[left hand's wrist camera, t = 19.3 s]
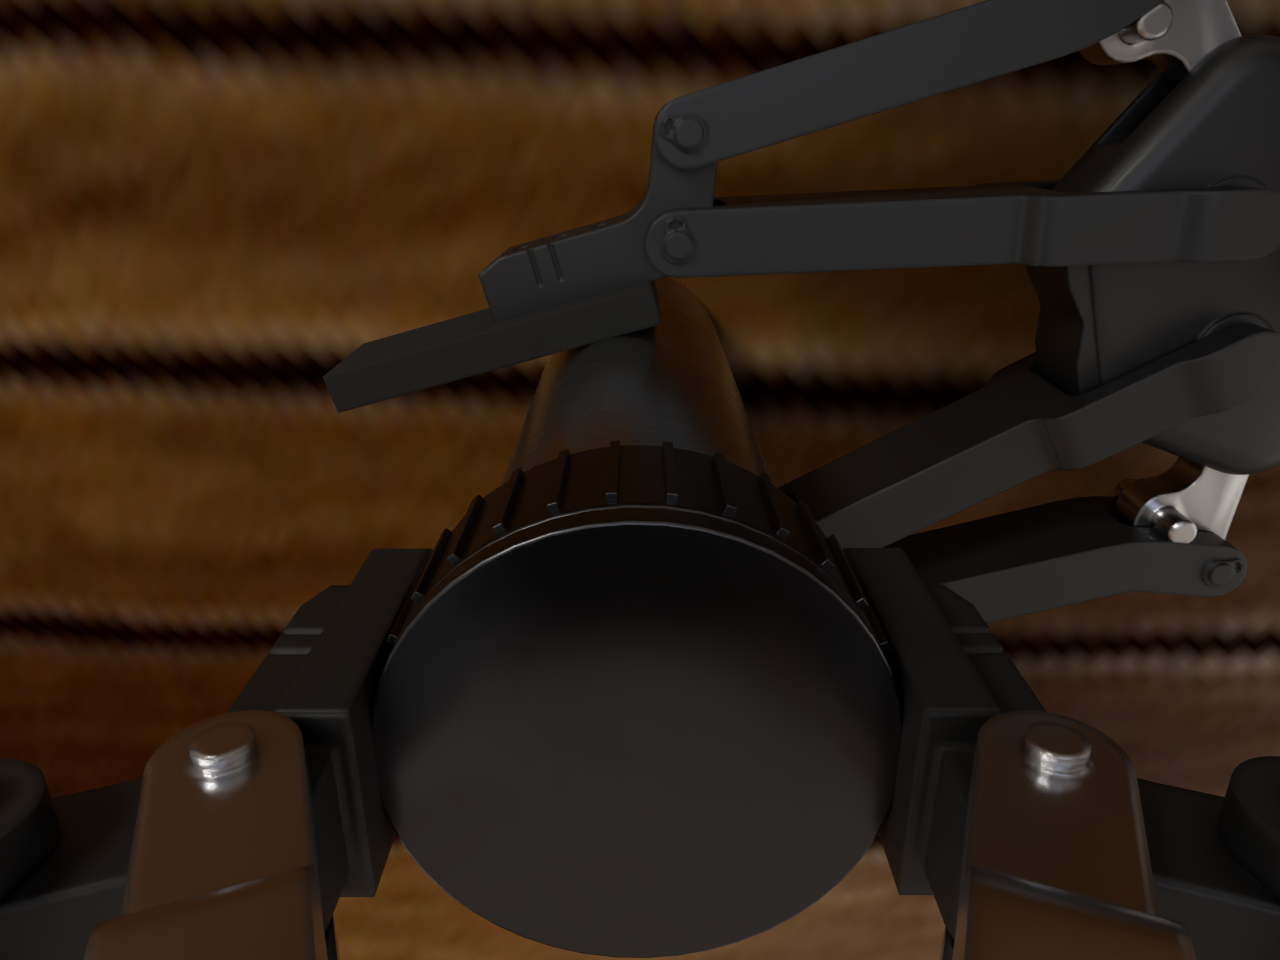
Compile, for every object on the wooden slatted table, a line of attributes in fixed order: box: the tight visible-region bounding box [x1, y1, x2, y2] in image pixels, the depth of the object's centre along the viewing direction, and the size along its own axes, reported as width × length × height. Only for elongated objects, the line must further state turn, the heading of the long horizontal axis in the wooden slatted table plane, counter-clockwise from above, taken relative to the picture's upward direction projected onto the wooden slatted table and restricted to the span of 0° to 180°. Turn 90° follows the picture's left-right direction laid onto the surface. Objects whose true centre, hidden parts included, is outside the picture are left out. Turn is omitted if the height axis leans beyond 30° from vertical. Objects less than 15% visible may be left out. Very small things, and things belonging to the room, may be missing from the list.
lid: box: [371, 441, 903, 958], centre depth 10 cm, size 6×6×2 cm
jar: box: [500, 278, 774, 486], centre depth 17 cm, size 4×4×16 cm
